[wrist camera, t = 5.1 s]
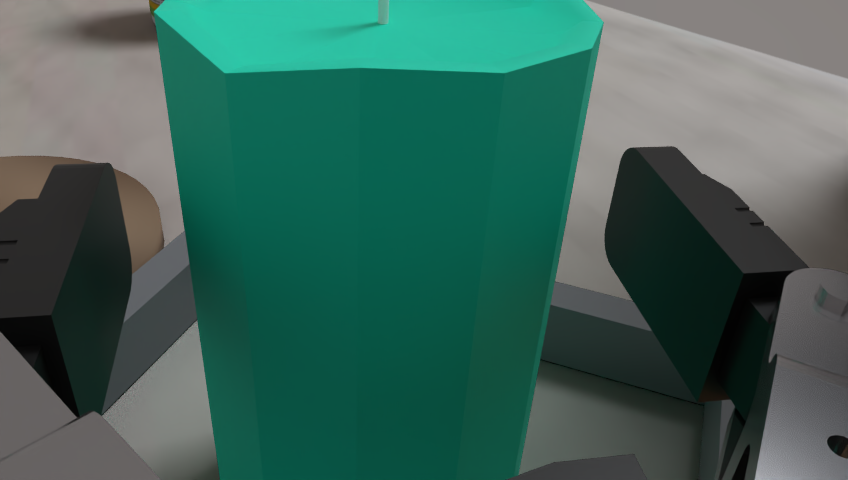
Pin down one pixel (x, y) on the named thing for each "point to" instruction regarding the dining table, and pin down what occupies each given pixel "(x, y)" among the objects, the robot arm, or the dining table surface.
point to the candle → (374, 223)
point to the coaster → (28, 174)
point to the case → (563, 344)
